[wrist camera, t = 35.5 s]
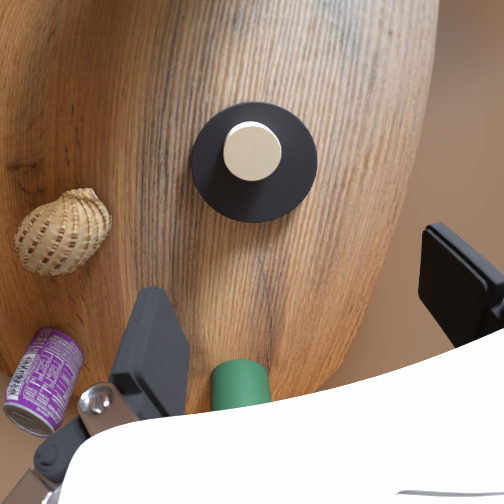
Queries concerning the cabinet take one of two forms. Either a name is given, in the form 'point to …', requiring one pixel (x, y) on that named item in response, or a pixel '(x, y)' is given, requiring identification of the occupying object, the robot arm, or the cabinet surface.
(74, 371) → the beverage can
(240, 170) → the cap
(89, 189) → the seashell
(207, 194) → the coaster
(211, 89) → the cabinet surface
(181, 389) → the robot arm
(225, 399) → the bottle
